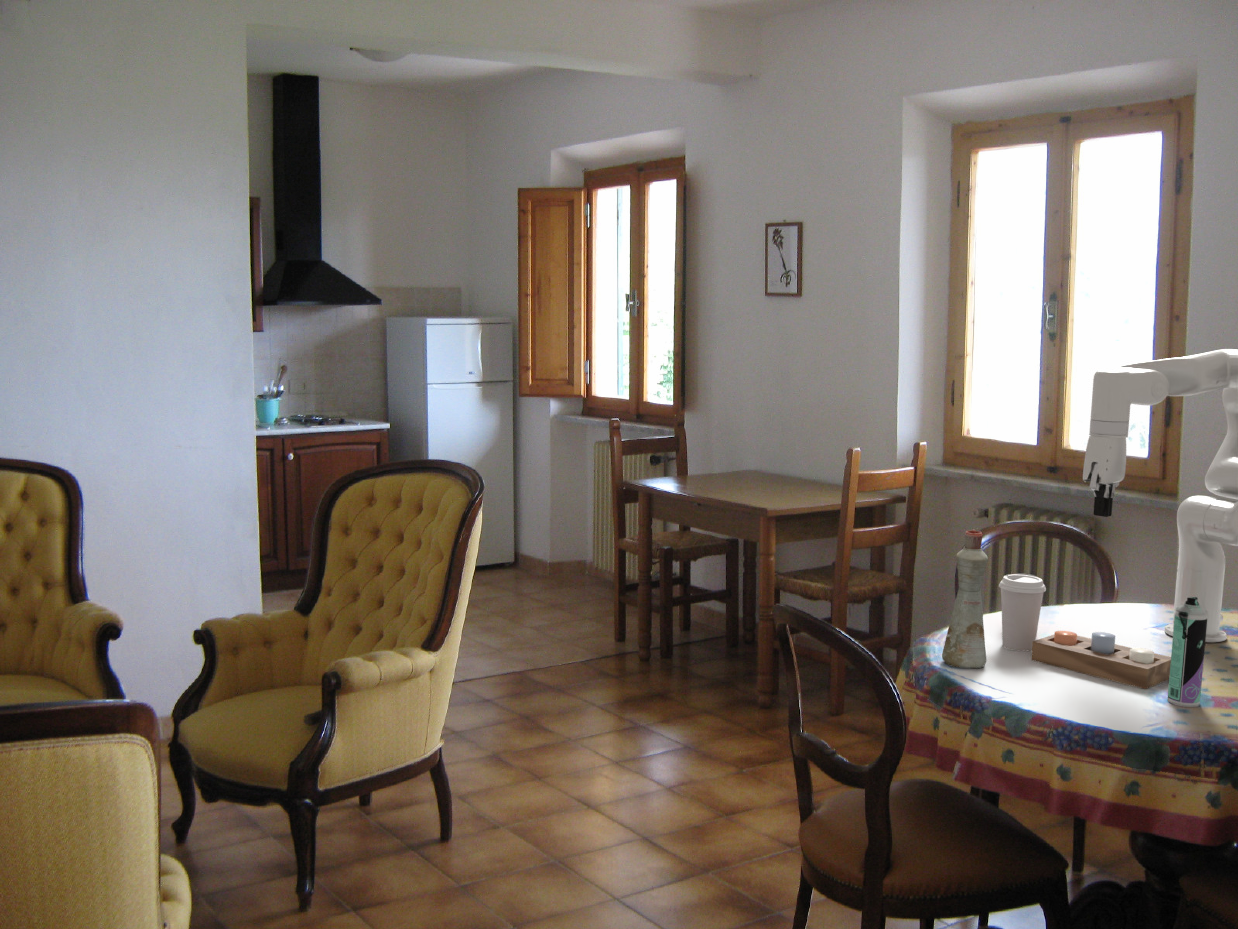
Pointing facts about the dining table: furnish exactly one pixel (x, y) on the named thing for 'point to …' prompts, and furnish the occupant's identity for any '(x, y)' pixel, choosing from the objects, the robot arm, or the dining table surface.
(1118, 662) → the wooden egg holder
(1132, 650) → the cream cylinder
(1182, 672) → the spray can
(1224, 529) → the robot arm
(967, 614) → the bottle
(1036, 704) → the dining table surface
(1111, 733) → the dining table surface
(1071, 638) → the rust egg
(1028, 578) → the coffee cup
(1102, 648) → the blue-grey egg
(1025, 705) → the dining table surface
